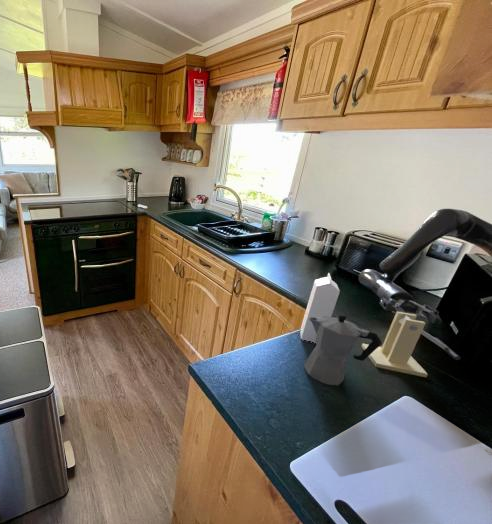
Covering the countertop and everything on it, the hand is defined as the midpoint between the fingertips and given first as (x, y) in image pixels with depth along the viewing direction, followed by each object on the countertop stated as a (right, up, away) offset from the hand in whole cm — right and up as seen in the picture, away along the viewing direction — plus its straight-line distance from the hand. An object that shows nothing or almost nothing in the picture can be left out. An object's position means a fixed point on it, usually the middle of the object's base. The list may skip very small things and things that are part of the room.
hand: (420, 318), depth 91 cm
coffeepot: (-38, -13, -14) cm, 42 cm away
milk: (-33, -7, +3) cm, 34 cm away
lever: (-10, -3, -11) cm, 15 cm away
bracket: (-14, -11, -6) cm, 19 cm away
